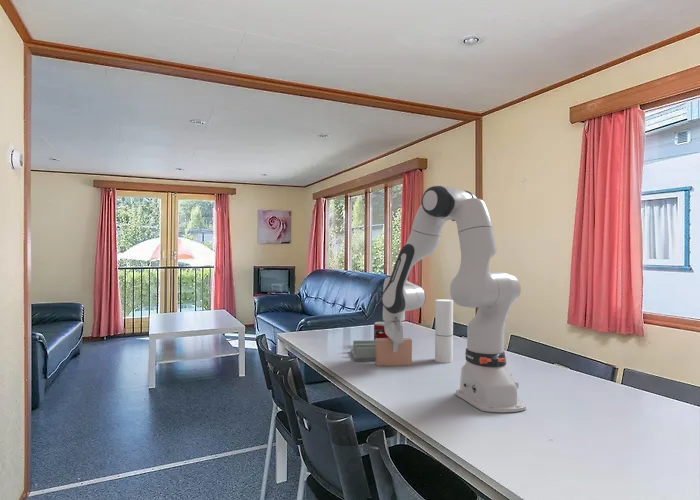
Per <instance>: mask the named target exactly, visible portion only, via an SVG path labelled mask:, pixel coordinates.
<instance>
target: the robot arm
mask: <svg viewBox="0 0 700 500" xmlns="http://www.w3.org/2000/svg"><path fill="white" fill-rule="evenodd" d="M450 220H451V221H452V222H455V223H456V229H457V234H458V235H457V236H458V240H459V246H460V247H459V248H460V265H459V269H458V272H457V274H456V275H455V277H453V279H452V280H451V282H450V286H449V294H450V297H451V300H453V303H454V304H456V305H457V306H460V307H465V308H470V309H473V308H474V309H476V308H477V311H476V314H475V316H474V317H472V319H471V320H470V321H469V322H468V324H467V327H466V329H467V330H466V331H467V332H466V333H467V334H466V335H467V336H466V338H467V341H466V343H467V344H466V348H465V353H464V355H465V360H466V361H465V363H464V365H463V366H461V369H460V370H461V371H460V380H459V389H456V390H455V395H456V397H457V396H458V397H459V398H460V399H462V400H463V401H465V402H467V403H468V404H470V405H471V406H473V407H475V408H477V409H478V410H479V411H483V412H488V413H490V412H491V413H516V412H521V411H522V412H523V411H526V410H527V406H526V404H525V403H524V401H522V400H521V398H520V397H519V396H518V389H519V386H520V385H519V384H520V383H519V382H518V380H514V379H513V377H512V373H511V372H510V370H508V367H507V357H506V353H505V350H504V340H505V339H504V338H505V336H504V335H505V326H506V321H507V318H508V315H509V312H510V310H511V308H512V306H513V305H514V303H515V302H516V301H517V300H518V299H519V298H520V295H521V291H522V289H521V283H520V281H519V280H518V278H517V277H516V276H515V275H513V274H510V273H506V272H503V271H490V261H491V260H492V258H493V257H494V256H495V255H496V253H497V245H496V244H497V243H496V238H495V233H494V229H493V223H492V219H491V215H490V213H489V210H488V207H487V206H486V203H485V201H483V199H481V198H477V196H476V194H474V193H472V192H470V191H468V190H462V189H459V188H456V187H453V186H442V185H435V186H434V185H433V186H430V187H428V188H426V190H425V191H424V192H423V194H422V198H421V205H419V207H418V209H417V211H416V214H415V216H414V219H413V222H412V225H411V229H410V233H409V236H408V238H407V240H406V243H405V244H404V245H403V246H402V248H401V249H400V251H399V253H398V255H397V258H396V262H395V263H394V267H393V270H392V273H391V275H388V276H386V277H385V278H384V280H383V281H384V282H383V288H382V295H381V303H382V305H383V306H382V312H381V313H382V320H383V322H384V329H385V334H386V335H387V336H388V337H389V338H390V339H391V340H392V341H393V347H392V351H393V352H397V351H398V344H402V343H403V338H404V325H403V321H406V312H408V311H409V312H410V311H413V310H418V309H421V308H423V307H424V305H425V303H426V292H425V290H424V288H422V287H421V286H420V285H417V284H414V283H412V282H410V281H409V280H408V279H409V276H410V272H411V270H412V268H413V267H414V266H415V264H417V263H418V262H419V261H421V260H423V259H424V258H427V257H429V256H431V255H432V254H434V253H435V252H436V250H437V248H438V247H439V244H440V241H441V237H442V233H443V232H442V231H443V228H444V225H445V223H446V222H447V221H450Z"/></svg>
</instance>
